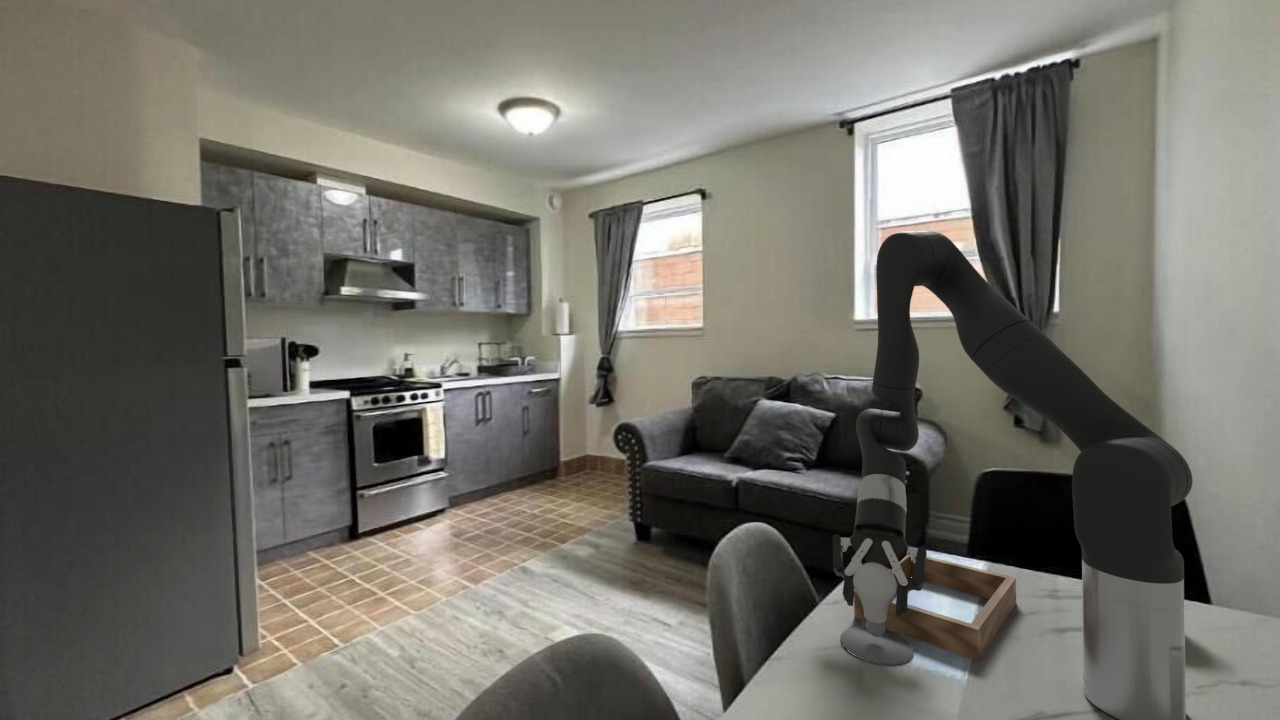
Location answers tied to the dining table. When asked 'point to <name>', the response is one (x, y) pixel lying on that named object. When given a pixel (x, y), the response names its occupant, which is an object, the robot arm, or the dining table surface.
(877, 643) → the mat
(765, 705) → the dining table surface
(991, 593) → the shallow wooden tray
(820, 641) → the dining table surface
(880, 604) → the lightbulb
